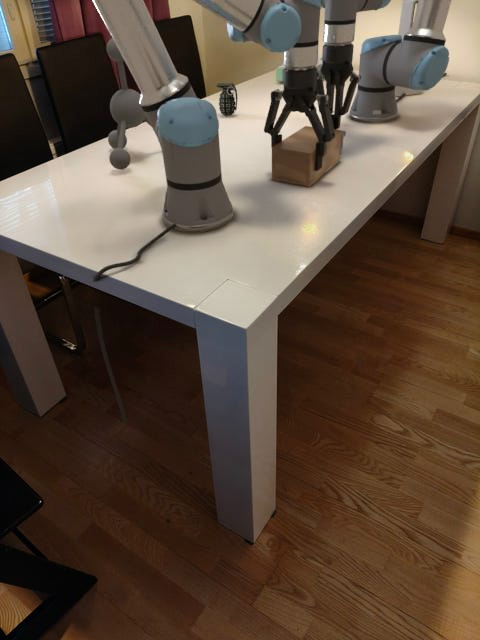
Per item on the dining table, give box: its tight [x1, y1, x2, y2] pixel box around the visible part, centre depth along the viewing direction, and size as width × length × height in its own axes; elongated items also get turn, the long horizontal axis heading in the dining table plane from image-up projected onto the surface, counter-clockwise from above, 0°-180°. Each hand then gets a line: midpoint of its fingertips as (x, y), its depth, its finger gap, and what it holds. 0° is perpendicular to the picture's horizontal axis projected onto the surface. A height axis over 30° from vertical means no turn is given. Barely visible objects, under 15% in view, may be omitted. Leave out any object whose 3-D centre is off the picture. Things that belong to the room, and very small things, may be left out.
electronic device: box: [395, 0, 423, 98], centre depth 172 cm, size 12×8×30 cm, turn 105°
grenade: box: [215, 82, 238, 117], centre depth 166 cm, size 7×6×10 cm
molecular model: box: [106, 37, 152, 171], centre depth 132 cm, size 24×22×30 cm
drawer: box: [334, 129, 347, 156], centre depth 128 cm, size 24×9×6 cm, turn 148°
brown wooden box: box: [271, 125, 342, 188], centre depth 124 cm, size 19×10×8 cm, turn 148°
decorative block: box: [275, 57, 324, 82], centre depth 206 cm, size 26×6×20 cm
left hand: (297, 165), depth 121 cm, fingers closed on brown wooden box, 10 cm apart
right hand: (331, 140), depth 134 cm, fingers closed
